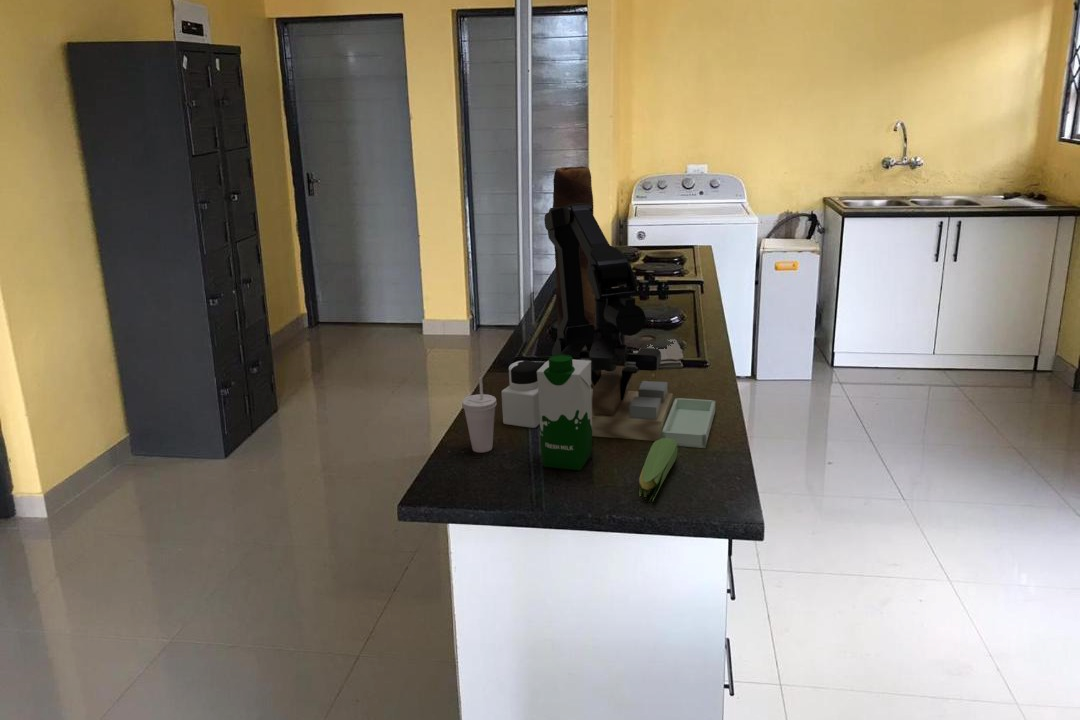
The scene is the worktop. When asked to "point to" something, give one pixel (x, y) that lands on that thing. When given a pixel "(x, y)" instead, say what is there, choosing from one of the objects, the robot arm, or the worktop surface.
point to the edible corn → (657, 465)
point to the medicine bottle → (521, 395)
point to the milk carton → (565, 412)
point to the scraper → (608, 392)
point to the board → (630, 421)
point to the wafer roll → (577, 189)
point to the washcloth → (670, 356)
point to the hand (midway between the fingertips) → (611, 398)
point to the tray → (690, 422)
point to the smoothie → (480, 419)
